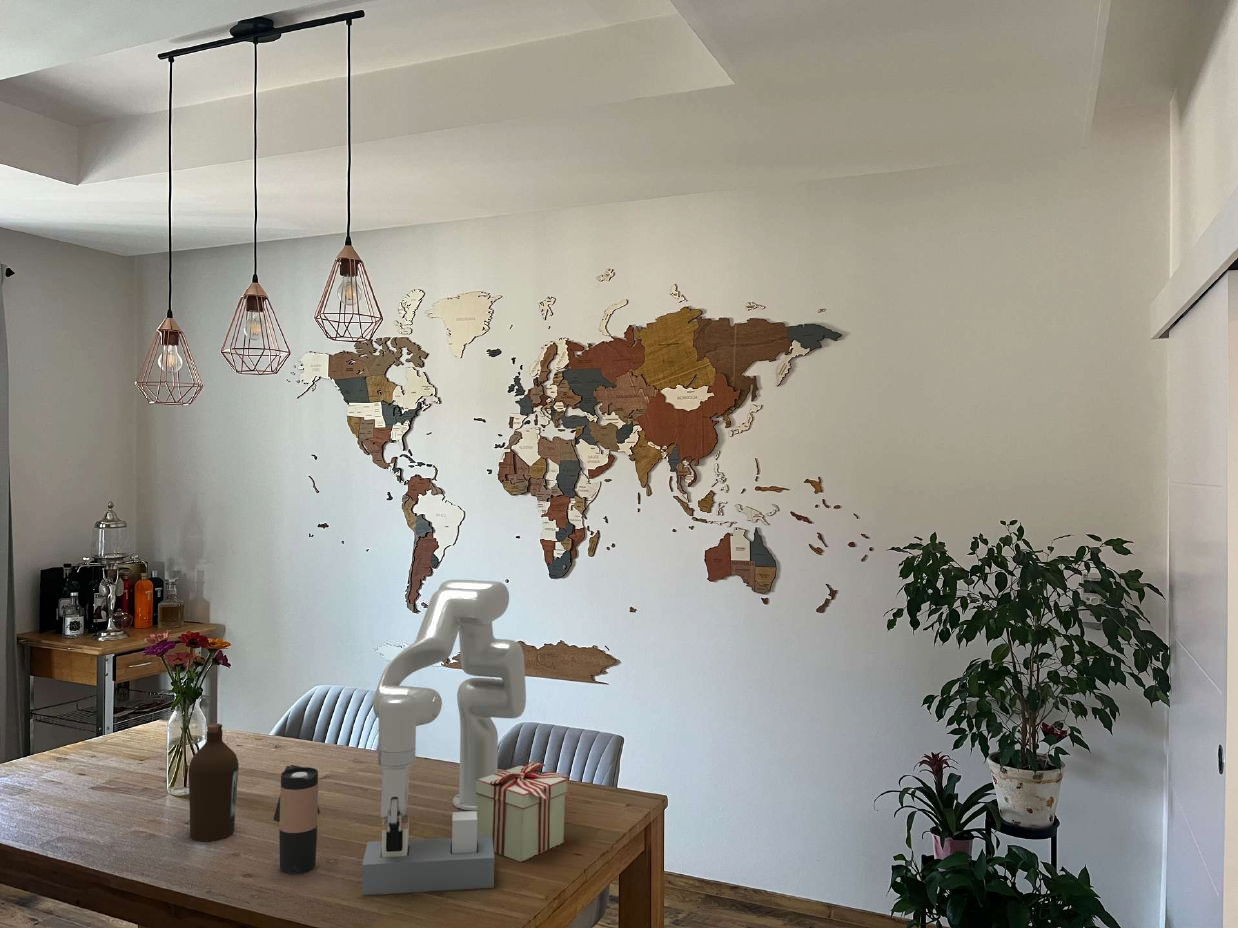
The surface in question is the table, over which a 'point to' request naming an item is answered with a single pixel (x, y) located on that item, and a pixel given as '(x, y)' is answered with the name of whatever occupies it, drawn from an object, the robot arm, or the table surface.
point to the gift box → (522, 810)
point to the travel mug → (298, 820)
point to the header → (433, 862)
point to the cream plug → (405, 837)
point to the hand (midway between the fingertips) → (395, 844)
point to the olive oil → (213, 788)
